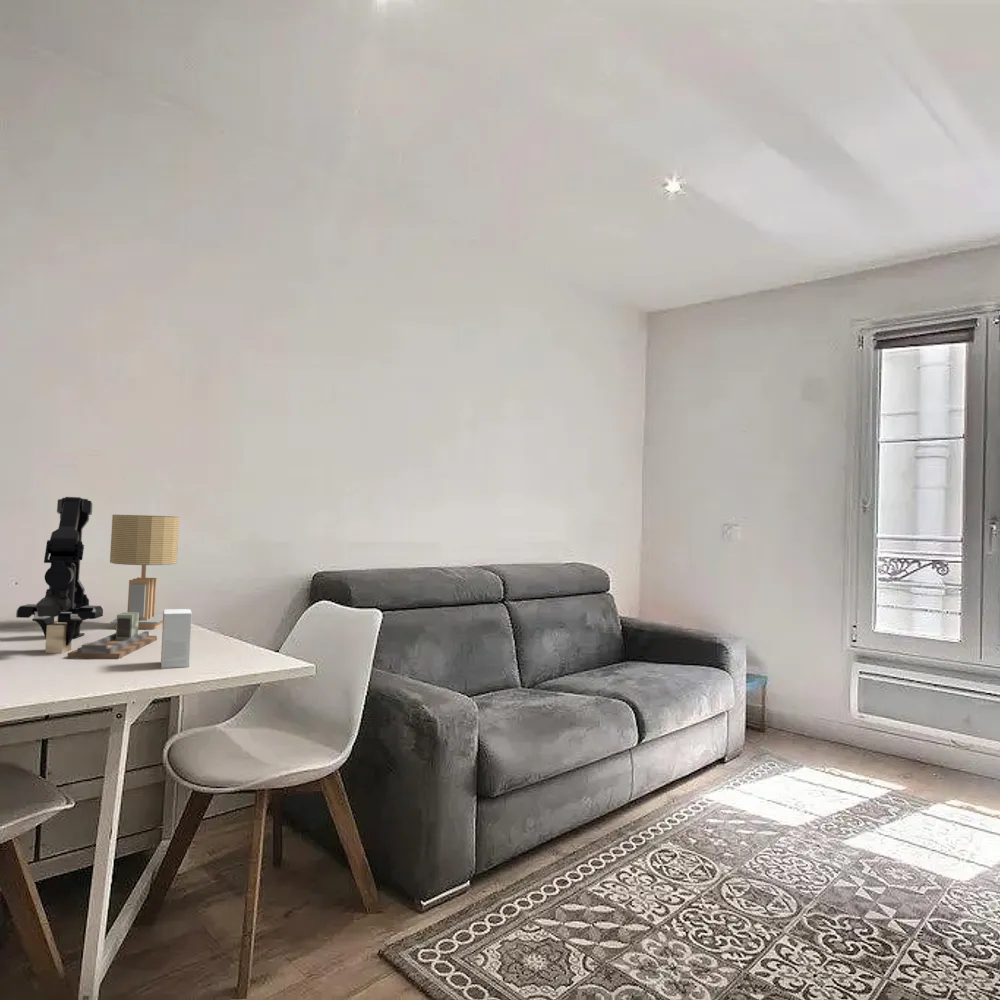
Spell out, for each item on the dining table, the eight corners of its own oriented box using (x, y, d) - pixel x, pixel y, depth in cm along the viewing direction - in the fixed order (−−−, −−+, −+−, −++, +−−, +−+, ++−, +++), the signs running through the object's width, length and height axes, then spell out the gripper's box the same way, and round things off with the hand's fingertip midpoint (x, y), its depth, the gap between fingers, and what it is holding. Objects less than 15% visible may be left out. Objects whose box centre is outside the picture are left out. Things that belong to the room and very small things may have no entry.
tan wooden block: (55, 649, 190) (56, 622, 190) (71, 649, 190) (73, 622, 190) (45, 652, 184) (46, 625, 184) (62, 653, 185) (63, 625, 185)
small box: (160, 661, 179) (163, 609, 179) (188, 660, 182) (191, 608, 182) (160, 668, 172) (163, 613, 172) (189, 667, 174) (192, 612, 175)
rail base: (112, 639, 207) (113, 610, 207) (156, 639, 208) (157, 611, 209) (67, 658, 179) (69, 624, 179) (119, 658, 181) (120, 625, 181)
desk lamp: (166, 630, 225) (172, 517, 226) (97, 630, 221) (103, 514, 222) (180, 621, 244) (185, 516, 245) (116, 621, 240) (122, 514, 241)
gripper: (6, 586, 178) (2, 650, 178) (87, 588, 181) (83, 651, 180) (29, 582, 189) (25, 642, 189) (105, 584, 192) (102, 643, 191)
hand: (58, 645), depth 187 cm, fingers closed on tan wooden block, 4 cm apart
